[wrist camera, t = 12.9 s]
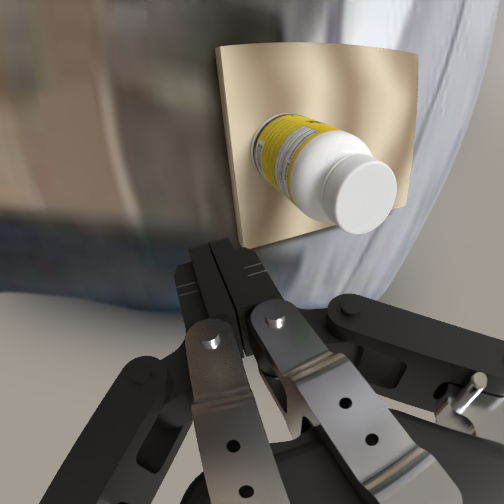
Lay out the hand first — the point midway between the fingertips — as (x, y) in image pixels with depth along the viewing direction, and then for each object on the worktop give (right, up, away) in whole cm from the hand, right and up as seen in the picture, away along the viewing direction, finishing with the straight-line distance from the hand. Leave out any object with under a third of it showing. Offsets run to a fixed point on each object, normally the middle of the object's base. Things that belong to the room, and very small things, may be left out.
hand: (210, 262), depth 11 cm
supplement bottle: (+4, +8, +10) cm, 14 cm away
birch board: (+8, +10, +13) cm, 18 cm away
